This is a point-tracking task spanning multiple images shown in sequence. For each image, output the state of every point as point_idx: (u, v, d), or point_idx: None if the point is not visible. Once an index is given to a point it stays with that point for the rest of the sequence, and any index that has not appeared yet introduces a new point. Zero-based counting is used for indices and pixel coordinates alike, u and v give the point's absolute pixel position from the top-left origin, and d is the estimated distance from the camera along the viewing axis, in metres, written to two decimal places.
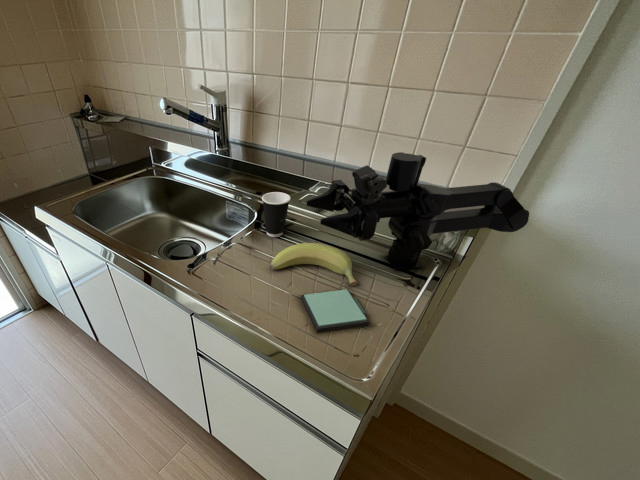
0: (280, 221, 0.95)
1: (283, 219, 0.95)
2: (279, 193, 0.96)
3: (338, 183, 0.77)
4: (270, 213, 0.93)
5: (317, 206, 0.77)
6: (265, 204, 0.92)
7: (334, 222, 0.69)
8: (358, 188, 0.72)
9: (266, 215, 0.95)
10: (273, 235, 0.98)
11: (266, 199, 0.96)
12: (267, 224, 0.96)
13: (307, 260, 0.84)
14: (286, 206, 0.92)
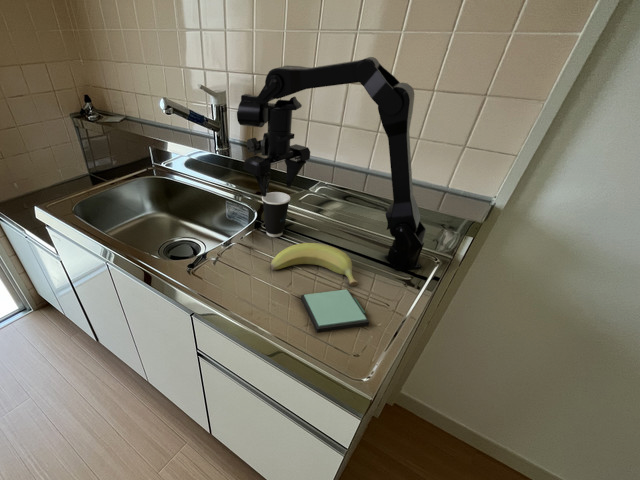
0: (280, 221, 0.95)
1: (283, 219, 0.95)
2: (279, 193, 0.96)
3: None
4: (270, 213, 0.93)
5: (291, 178, 0.92)
6: (265, 204, 0.92)
7: (261, 187, 0.88)
8: None
9: (266, 215, 0.95)
10: (273, 235, 0.98)
11: (266, 199, 0.96)
12: (267, 224, 0.96)
13: (307, 260, 0.84)
14: (286, 206, 0.92)
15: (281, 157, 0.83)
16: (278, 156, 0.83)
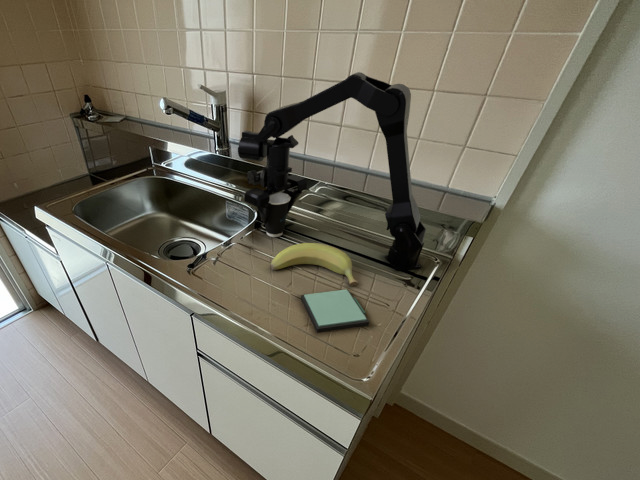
0: (280, 221, 0.95)
1: (283, 219, 0.95)
2: (279, 193, 0.96)
3: None
4: (270, 213, 0.93)
5: (288, 207, 0.97)
6: None
7: (262, 216, 0.93)
8: None
9: None
10: (273, 235, 0.98)
11: None
12: (267, 224, 0.96)
13: (307, 260, 0.84)
14: (286, 206, 0.92)
15: (279, 189, 0.88)
16: (276, 188, 0.88)
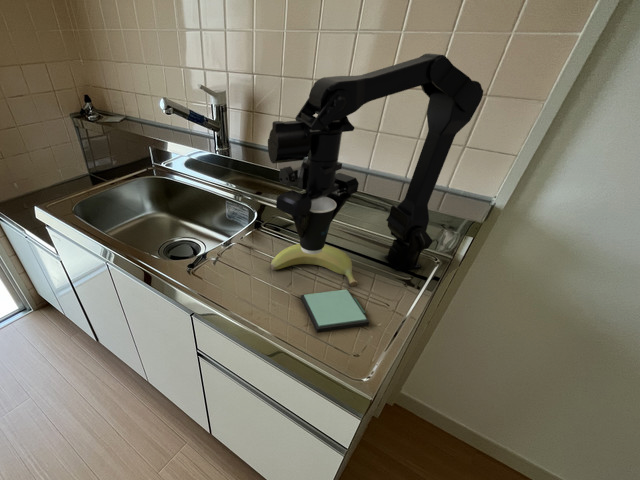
0: (322, 234, 0.71)
1: (325, 232, 0.72)
2: None
3: None
4: (309, 223, 0.70)
5: None
6: None
7: (298, 227, 0.70)
8: None
9: None
10: (311, 252, 0.75)
11: None
12: (303, 238, 0.73)
13: (307, 260, 0.84)
14: (331, 215, 0.69)
15: (324, 193, 0.65)
16: (321, 191, 0.65)
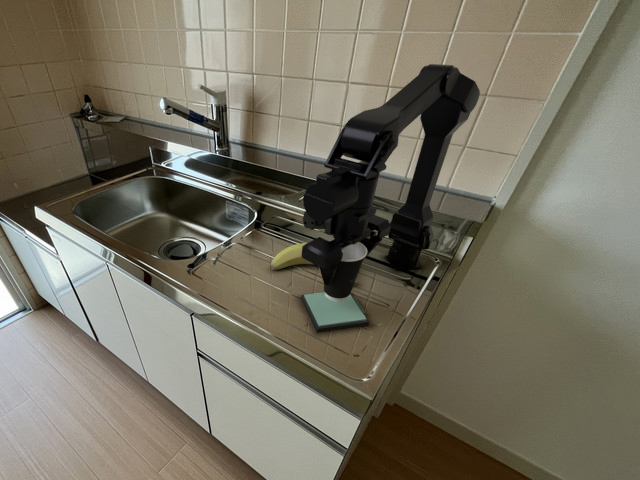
0: (350, 281, 0.64)
1: (354, 279, 0.64)
2: None
3: None
4: None
5: None
6: None
7: (325, 276, 0.63)
8: None
9: None
10: (336, 299, 0.68)
11: None
12: None
13: None
14: (361, 262, 0.62)
15: (356, 240, 0.58)
16: (352, 240, 0.58)
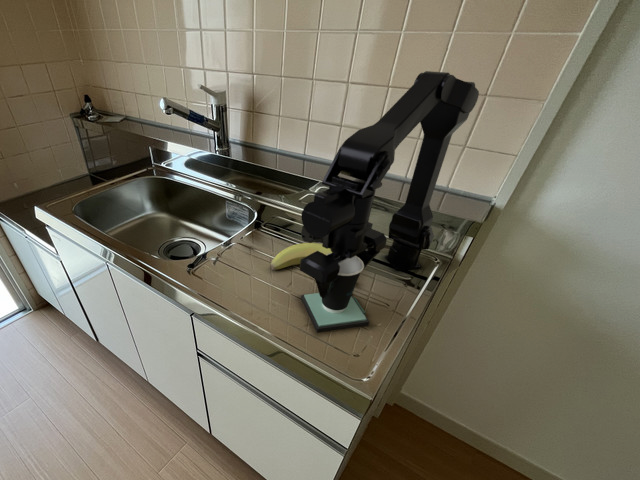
0: (347, 294, 0.66)
1: (351, 292, 0.66)
2: None
3: None
4: (335, 285, 0.65)
5: None
6: None
7: (321, 289, 0.64)
8: None
9: None
10: (334, 311, 0.70)
11: None
12: (327, 297, 0.68)
13: None
14: (358, 276, 0.64)
15: (353, 255, 0.60)
16: (349, 254, 0.59)
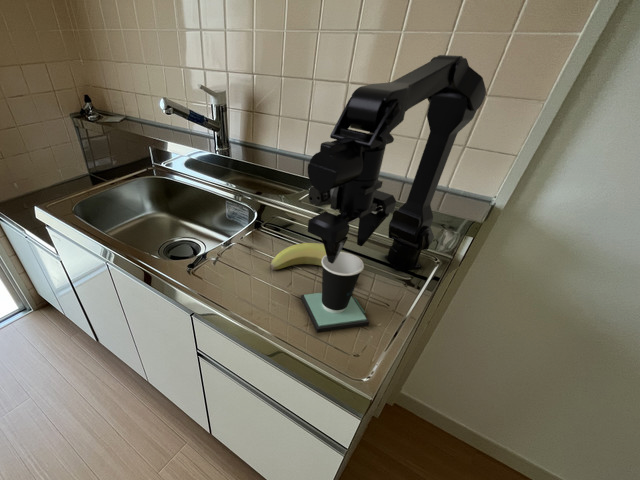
0: (347, 294, 0.66)
1: (351, 292, 0.66)
2: (345, 254, 0.68)
3: None
4: (335, 285, 0.65)
5: (366, 236, 0.67)
6: (327, 273, 0.64)
7: (329, 252, 0.63)
8: None
9: (327, 286, 0.66)
10: (334, 311, 0.70)
11: (326, 262, 0.68)
12: (327, 297, 0.68)
13: (307, 260, 0.84)
14: (358, 276, 0.64)
15: (362, 214, 0.58)
16: (359, 213, 0.58)
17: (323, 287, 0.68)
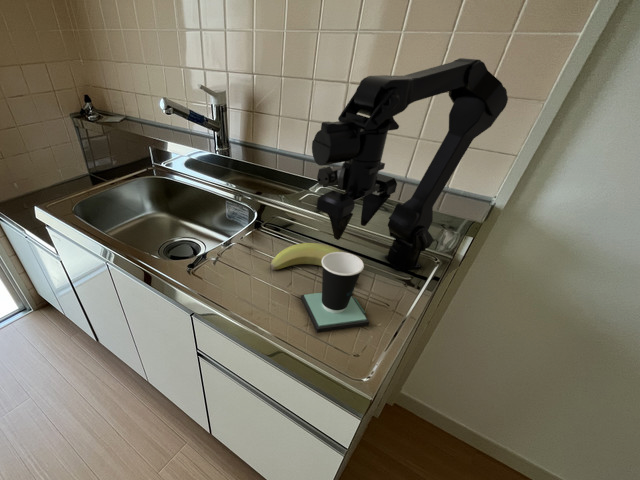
0: (347, 294, 0.66)
1: (351, 292, 0.66)
2: (345, 254, 0.68)
3: None
4: (335, 285, 0.65)
5: (369, 216, 0.73)
6: (327, 273, 0.64)
7: (335, 229, 0.69)
8: None
9: (327, 286, 0.66)
10: (334, 311, 0.70)
11: (326, 262, 0.68)
12: (327, 297, 0.68)
13: (307, 260, 0.84)
14: (358, 276, 0.64)
15: (366, 193, 0.64)
16: (363, 192, 0.64)
17: (323, 287, 0.68)
